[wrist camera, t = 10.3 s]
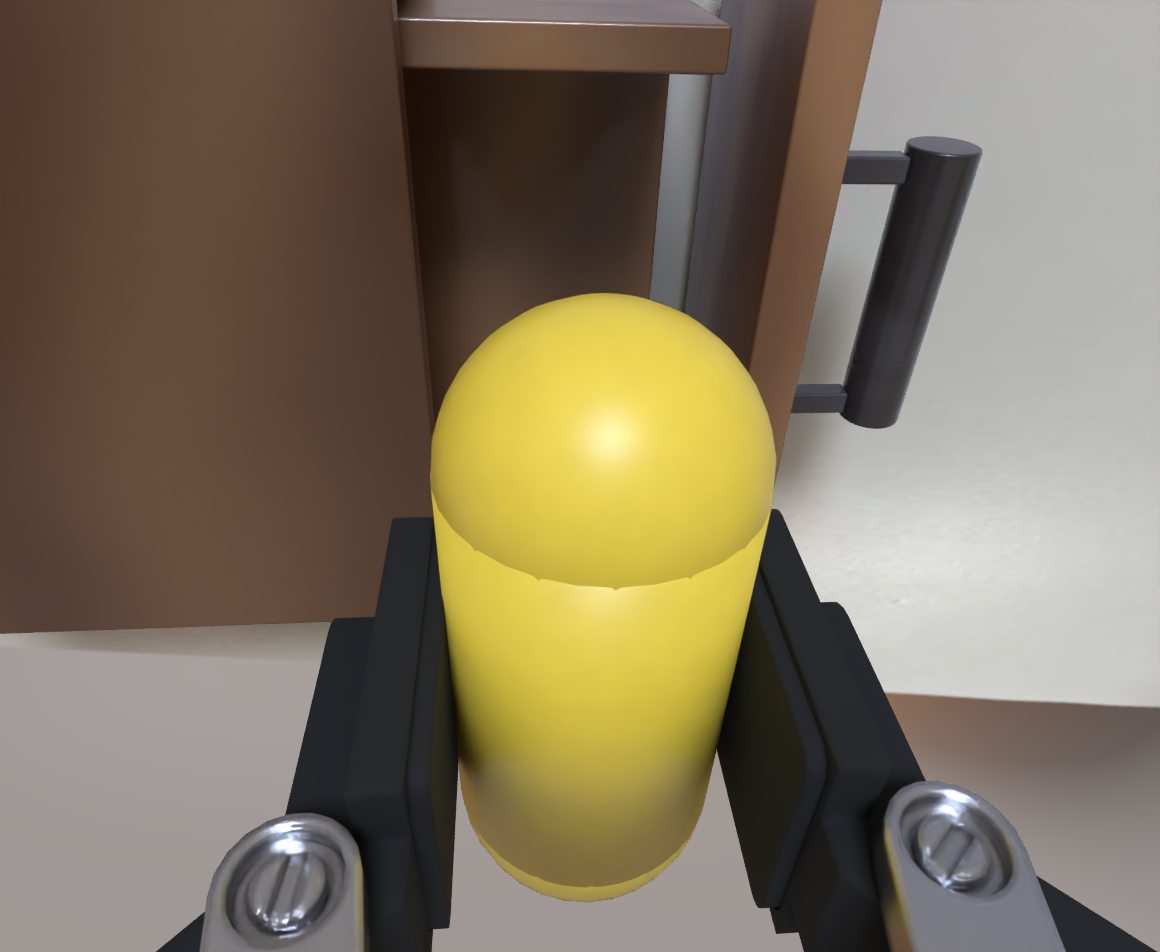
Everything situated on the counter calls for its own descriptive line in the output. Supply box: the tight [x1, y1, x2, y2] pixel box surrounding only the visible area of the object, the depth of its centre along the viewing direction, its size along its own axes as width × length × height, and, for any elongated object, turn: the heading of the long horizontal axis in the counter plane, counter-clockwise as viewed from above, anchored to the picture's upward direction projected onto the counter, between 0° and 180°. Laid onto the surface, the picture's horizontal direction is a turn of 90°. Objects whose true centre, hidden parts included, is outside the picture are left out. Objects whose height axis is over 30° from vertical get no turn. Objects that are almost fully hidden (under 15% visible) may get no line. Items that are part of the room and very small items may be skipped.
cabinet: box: [0, 0, 435, 634], centre depth 19 cm, size 17×15×9 cm
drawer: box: [396, 0, 982, 485], centre depth 20 cm, size 20×13×7 cm
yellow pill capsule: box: [430, 293, 776, 902], centre depth 10 cm, size 9×4×4 cm
